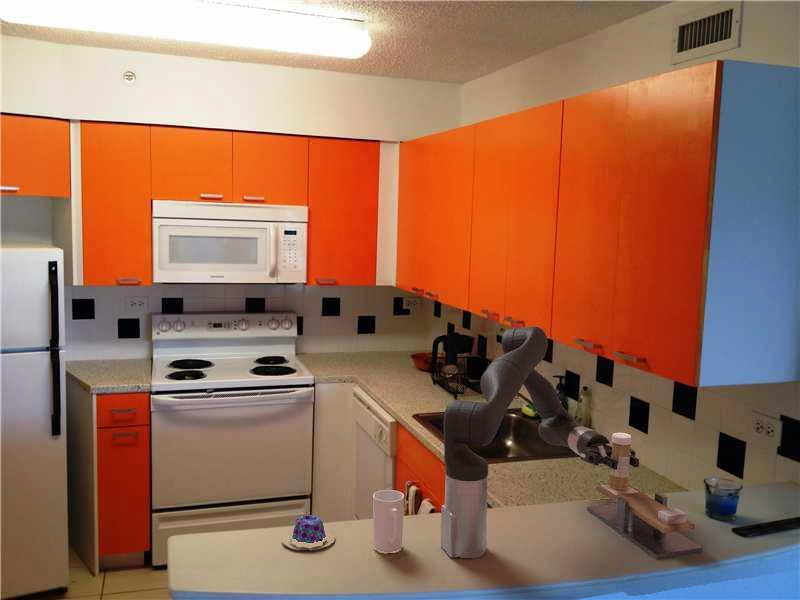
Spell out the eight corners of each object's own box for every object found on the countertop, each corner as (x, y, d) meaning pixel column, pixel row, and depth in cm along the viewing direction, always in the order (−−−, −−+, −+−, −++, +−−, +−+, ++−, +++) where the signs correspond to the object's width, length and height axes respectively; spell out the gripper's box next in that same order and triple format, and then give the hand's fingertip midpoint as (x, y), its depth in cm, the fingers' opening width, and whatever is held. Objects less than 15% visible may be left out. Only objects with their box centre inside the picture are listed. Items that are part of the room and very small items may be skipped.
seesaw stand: (656, 559, 155) (657, 523, 154) (586, 510, 181) (588, 479, 180) (701, 551, 159) (704, 517, 158) (627, 505, 184) (629, 475, 183)
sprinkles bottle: (606, 484, 180) (609, 431, 178) (623, 484, 180) (627, 431, 179) (613, 491, 175) (616, 437, 174) (631, 490, 176) (634, 437, 174)
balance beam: (662, 533, 156) (663, 519, 155) (595, 489, 180) (595, 477, 180) (695, 528, 158) (695, 514, 158) (624, 486, 183) (624, 474, 182)
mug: (369, 542, 161) (369, 491, 160) (398, 539, 163) (399, 488, 161) (380, 563, 151) (381, 508, 150) (411, 559, 153) (412, 505, 152)
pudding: (346, 543, 161) (346, 520, 161) (302, 559, 153) (302, 536, 153) (314, 526, 170) (314, 504, 170) (271, 541, 162) (271, 518, 161)
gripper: (564, 432, 188) (602, 452, 172) (612, 427, 192) (652, 447, 176) (563, 460, 189) (600, 482, 173) (611, 455, 193) (651, 476, 177)
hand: (626, 464), depth 174 cm, fingers open, 5 cm apart
